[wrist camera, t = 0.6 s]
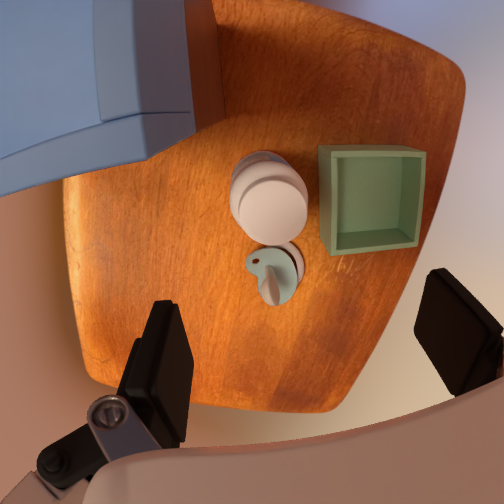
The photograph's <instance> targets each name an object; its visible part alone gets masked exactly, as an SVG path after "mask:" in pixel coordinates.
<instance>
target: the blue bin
mask: <svg viewBox="0 0 504 504" xmlns="http://www.w3.org/2000/svg"><path fill="white" fill-rule="evenodd" d="M224 119H226V113H225V103H224V93H223V83H222V73H221V62H220V52H219V41H218V30H217V22H216V18H215V14H214V10H213V5H212V1H211V0H0V197H3V196H6V195H9V194H12V193H15V192H18V191H22V190H25V189H28V188H31V187H35V186H38V185H42V184H45V183H49V182H52V181H56V180H60V179H64V178H68V177H71V176H75V175H79V174H84V173H88V172H92V171H96V170H101V169H105V168H110V167H115V166H120V165H125V164H130V163H135V162H140V161H146V160H148V159H149V158H151V157H153V156H155V155H156V154H158V153H160V152H162V151H164V150H165V149H167V148H169V147H171V146H173V145H175V144H176V143H178V142H180V141H182V140H184V139H186V138H188V137H190V136H192V135H193V134H196V133H197V132H199V131H202V130H204V129H206V128H208V127H210V126H212V125H214V124H216V123H218V122H220V121H222V120H224Z"/></svg>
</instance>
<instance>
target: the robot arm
mask: <svg viewBox="0 0 504 504" xmlns="http://www.w3.org/2000/svg"><path fill="white" fill-rule="evenodd" d="M503 329H504V328H503V327H502V326H501V325H500V324H499V322H498V321H497V320H496V319H495V318H494V317H493V316H492V315H491V314H490V313H489V312H488V311H487V309H486V308H485V307H484V306H483V305H482V304H481V303H480V302H479V301H478V300H477V299H476V298H475V297H474V296H473V295H472V294H471V293H470V292H469V291H468V290H467V289H466V288H465V287H464V286H463V285H462V284H461V283H460V282H459V281H458V280H457V279H456V278H455V277H454V276H453V275H452V274H451V273H450V272H449V271H448V270H447V269H445V268H439V269H433V270H431V271H430V273H429V274H428V275H427V278H426V282H425V286H424V291H423V295H422V299H421V303H420V307H419V311H418V315H417V318H416V322H415V326H414V334H415V336H416V338H417V339H418V341H419V343H420V345H421V346H422V348H423V349H424V351H425V352H426V354H427V355H428V357H429V359H430V360H431V362H432V363H433V365H434V367H435V369H436V370H437V372H438V373H439V375H440V377H441V378H442V380H443V382H444V383H445V385H446V387H447V389H448V390H449V392H450V393H451V394H452V395H454V396H455V398H453V399H450V400H448V401H445V402H442V403H440V404H437V405H434V406H431V407H429V408H425V409H423V410H419V411H416V412H413V413H410V414H407V415H404V416H401V417H397V418H394V419H390V420H387V421H383V422H379V423H376V424H372V425H368V426H364V427H360V428H355V429H351V430H347V431H341V432H336V433H331V434H326V435H321V436H315V437H309V438H302V439H296V440H289V441H281V442H271V443H262V444H250V445H237V446H220V447H196V448H179V447H180V442H185V437H186V428H187V419H188V410H189V401H190V393H191V385H192V377H193V369H194V360H193V356H192V353H191V349H190V346H189V342H188V339H187V336H186V332H185V329H184V325H183V322H182V318H181V314H180V311H179V307H178V305H177V304H173V302H172V301H171V300H161V301H155V302H154V304H153V307H152V310H151V313H150V315H149V318H148V321H147V324H146V326H145V329H144V332H143V335H142V338H137V339H136V340H135V342H134V344H133V347H132V350H131V352H130V355H129V358H128V361H127V364H126V367H125V370H124V372H123V375H122V378H121V381H120V384H119V387H118V391H117V394H116V395H106V396H103V397H100V398H99V399H97V400H96V401H94V402H93V403H92V405H91V406H90V407H89V410H88V412H87V421H88V423H87V424H85V425H84V426H82V427H80V428H78V429H77V430H75V431H73V432H72V433H70V434H68V435H67V436H65V437H63V438H61V439H60V440H58V441H56V442H54V443H53V444H51V445H49V446H47V447H46V448H45V449H43V450H42V451H41V453H40V454H39V456H38V459H37V470H36V471H35V472H32V471H30V472H29V473H28V474H27V475H26V476H25V477H24V478H23V479H22V480H21V481H20V482H19V483H18V484H17V485H16V486H15V487H14V488H13V490H11V492H10V493H9V494H8V495H7V496H6V497H5V498H4V499H3V500H2V502H1V503H0V504H504V338H503V337H502V335H501V333H502V332H503Z"/></svg>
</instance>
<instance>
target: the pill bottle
mask: <svg viewBox="0 0 504 504" xmlns="http://www.w3.org/2000/svg"><path fill="white" fill-rule="evenodd" d="M229 203H230V209H231V212H232V215H233V217H234V219H235V220H236V222H237V223H238V224H239V226H240V227H241V228H243V229H244V231H245V232H246V234H247V235H248V236H249V237H250V238H252V239H253V240H255V241H257V242H259V243H261V244H265V245H281V244H284V243H287V242H289V241H291V240H293V239H294V238H295V237H296V236H298V235H299V233H300V232H301V231H302V229H303V228H304V226H305V223H306V220H307V213H308V212H307V206H308V193H307V189H306V186H305V183H304V181H303V180H302V178H301V177H300V175H299V174H298V173H297V172H296V171H295V170H294V169H293V168H292V167H291V166H290V165H289V164H288V163H287V162H286V161H285V160H284V159H283V158H282V157H281V156H279V155H278V154H276V153H274V152H270V151H256V152H252V153H250V154H248V155H246V156H245V157H243V158H242V159H241V160H240V161H239V162H238V163H237V164H236V166H235V168H234V170H233V173H232V177H231V186H230V196H229Z"/></svg>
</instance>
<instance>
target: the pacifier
mask: <svg viewBox="0 0 504 504" xmlns="http://www.w3.org/2000/svg"><path fill="white" fill-rule="evenodd" d="M278 248H284V249H286V250H288V251H289V252H290V253H291V254H292V255H293V257H294V258H295V261H296V265H297V270H296V269H295V266H294V264H293V262H292V260H291V258H290V257H289V256H288V255H287V254H286V253H285V252H284V251H283V250H281V249H278ZM256 258H257V259H259V262H257V263H253V262H252V260H254V259H256ZM245 265H246V268H247V270H248V271H249V272H250V273H252V274H253V275H256V276H257V277H258V291H259V293H260V295H261V297H262V298H263V300H264V301H265V302H266V303H267V304H269V305H271V306H277V305H281V304H283V303H285V302H287V301H288V300H289V299H290V298H291V297H292V296H293V294H294V292H295V290H296V286H297V284H298V283H299V282H300V281H301V279H302V277H303V275H304V262H303V258H302V256H301V254H300V252H299V250H298V249H297V248H296V247H295V246H294V245H293V244H292V243H290V242H287V243H284V244H281V245H267V246H266V248H262V249H258V250H256V251H254V252H252V253H251V254H250V255H249V256H248V257H247V258H246V262H245Z"/></svg>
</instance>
